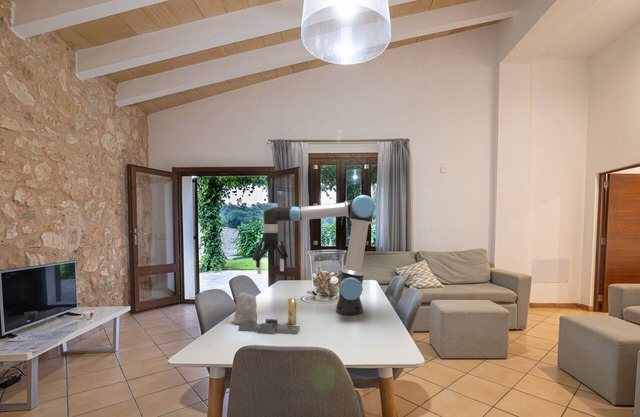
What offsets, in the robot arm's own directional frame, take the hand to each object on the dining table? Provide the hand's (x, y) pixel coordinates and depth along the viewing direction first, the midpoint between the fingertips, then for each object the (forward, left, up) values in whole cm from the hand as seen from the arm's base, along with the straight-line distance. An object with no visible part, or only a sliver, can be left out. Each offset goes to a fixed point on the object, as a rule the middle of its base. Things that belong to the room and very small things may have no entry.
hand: (270, 272), depth 170 cm
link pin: (-14, +8, -24) cm, 29 cm away
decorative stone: (+9, +11, -24) cm, 28 cm away
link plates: (-6, +19, -24) cm, 31 cm away
